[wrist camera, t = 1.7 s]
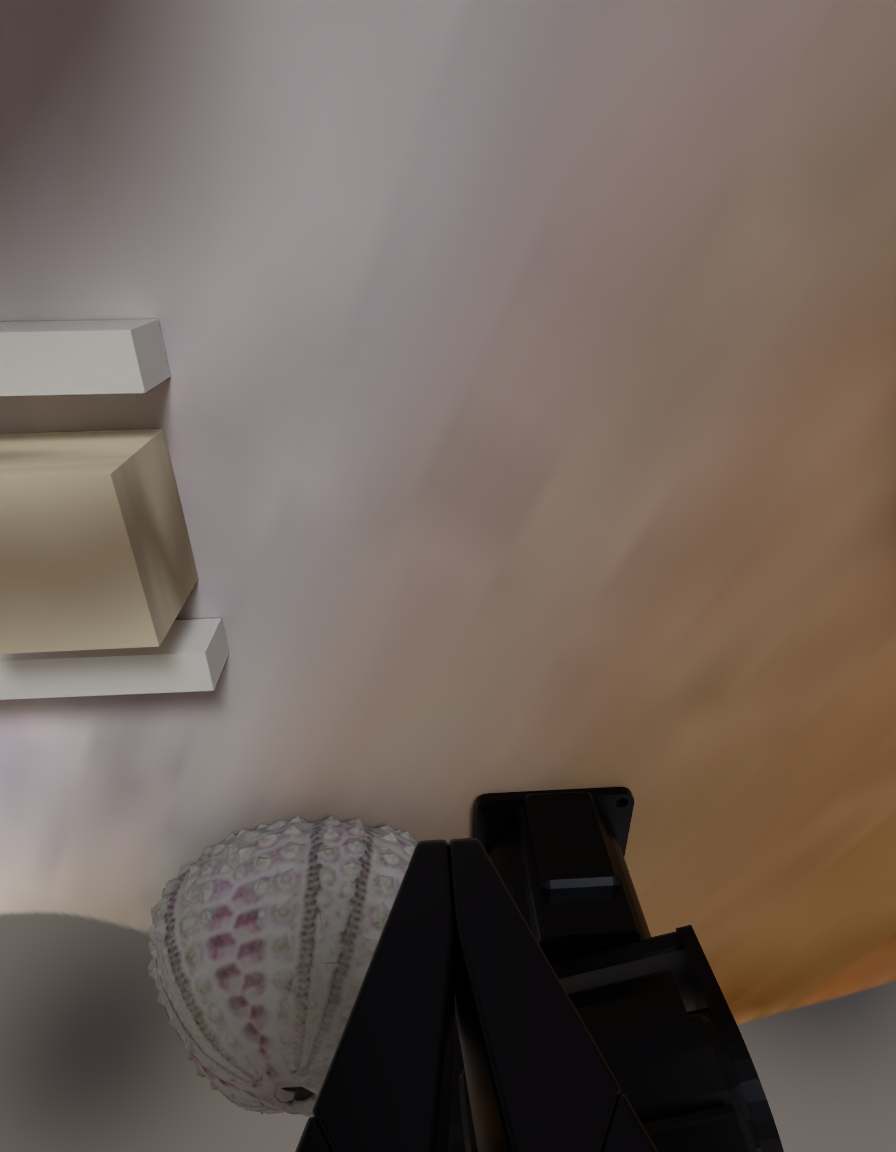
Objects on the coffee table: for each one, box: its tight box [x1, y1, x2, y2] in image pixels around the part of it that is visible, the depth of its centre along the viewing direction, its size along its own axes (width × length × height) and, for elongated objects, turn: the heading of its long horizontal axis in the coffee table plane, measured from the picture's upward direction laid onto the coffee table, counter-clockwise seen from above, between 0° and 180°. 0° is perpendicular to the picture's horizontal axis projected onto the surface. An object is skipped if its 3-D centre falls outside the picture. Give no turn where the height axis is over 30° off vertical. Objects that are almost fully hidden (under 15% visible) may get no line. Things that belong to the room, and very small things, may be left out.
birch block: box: [0, 429, 199, 654], centre depth 18 cm, size 5×5×4 cm
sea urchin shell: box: [147, 815, 418, 1117], centre depth 26 cm, size 13×14×8 cm
